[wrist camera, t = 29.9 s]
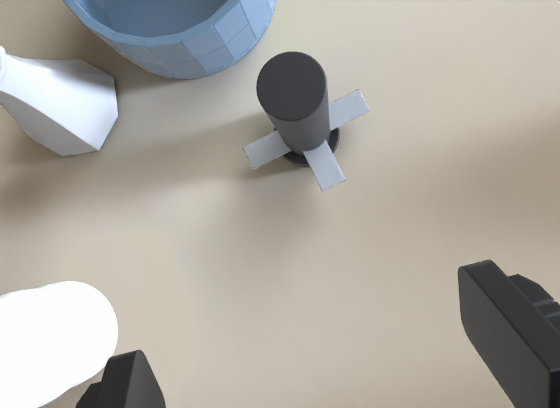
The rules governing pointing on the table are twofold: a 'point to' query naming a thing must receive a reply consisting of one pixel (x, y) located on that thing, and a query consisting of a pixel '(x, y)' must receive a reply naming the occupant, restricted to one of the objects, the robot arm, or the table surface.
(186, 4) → the processor bowl
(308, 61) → the chopping blade
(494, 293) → the robot arm
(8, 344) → the water bottle
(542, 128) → the table surface
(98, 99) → the flask
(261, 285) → the table surface
